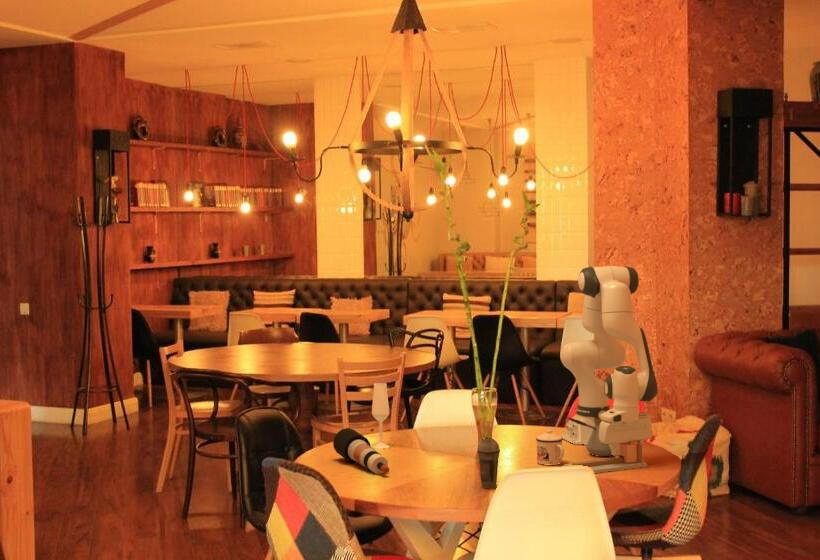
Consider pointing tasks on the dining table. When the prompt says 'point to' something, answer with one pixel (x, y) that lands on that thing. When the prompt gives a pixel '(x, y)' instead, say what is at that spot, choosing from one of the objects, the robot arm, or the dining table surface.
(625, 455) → the block
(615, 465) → the rail board
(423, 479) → the dining table surface
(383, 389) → the champagne flute
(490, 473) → the beverage cup
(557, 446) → the teacup with lid
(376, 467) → the cable
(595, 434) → the coffee pot
